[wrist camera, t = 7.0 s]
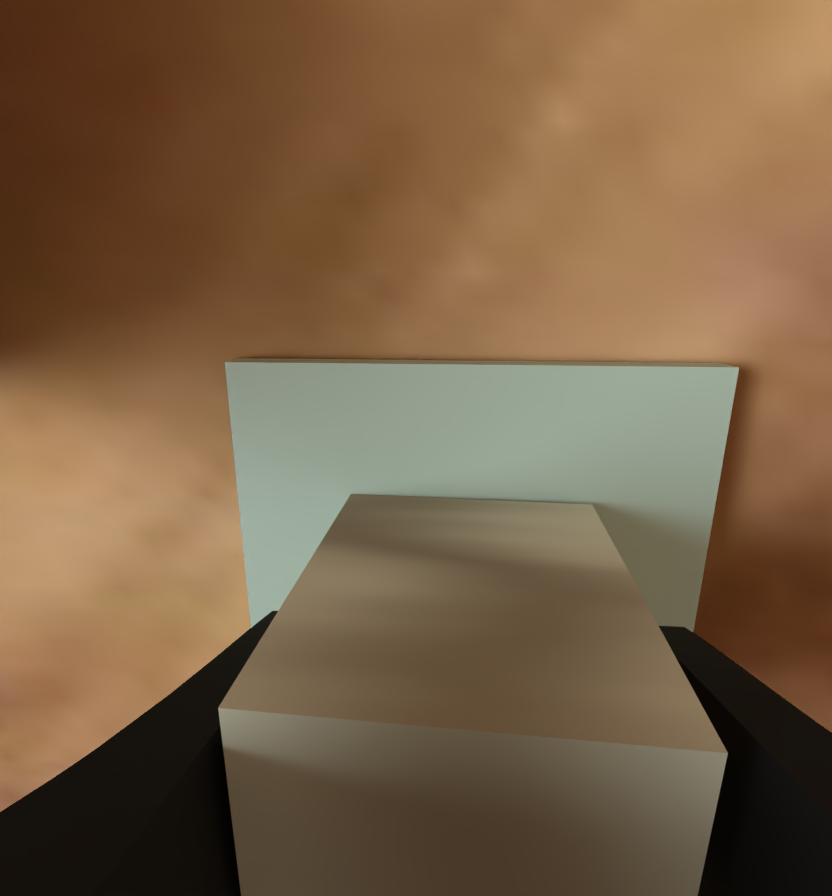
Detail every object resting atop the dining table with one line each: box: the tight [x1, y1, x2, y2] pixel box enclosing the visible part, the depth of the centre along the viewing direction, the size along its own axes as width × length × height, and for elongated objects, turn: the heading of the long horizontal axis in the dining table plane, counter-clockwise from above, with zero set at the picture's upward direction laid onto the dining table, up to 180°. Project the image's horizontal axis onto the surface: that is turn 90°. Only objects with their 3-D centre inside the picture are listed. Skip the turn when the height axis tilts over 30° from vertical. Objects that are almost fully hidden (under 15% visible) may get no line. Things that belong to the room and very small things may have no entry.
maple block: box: [218, 494, 728, 896], centre depth 8 cm, size 4×4×6 cm
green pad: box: [225, 358, 739, 632], centre depth 11 cm, size 9×9×1 cm
